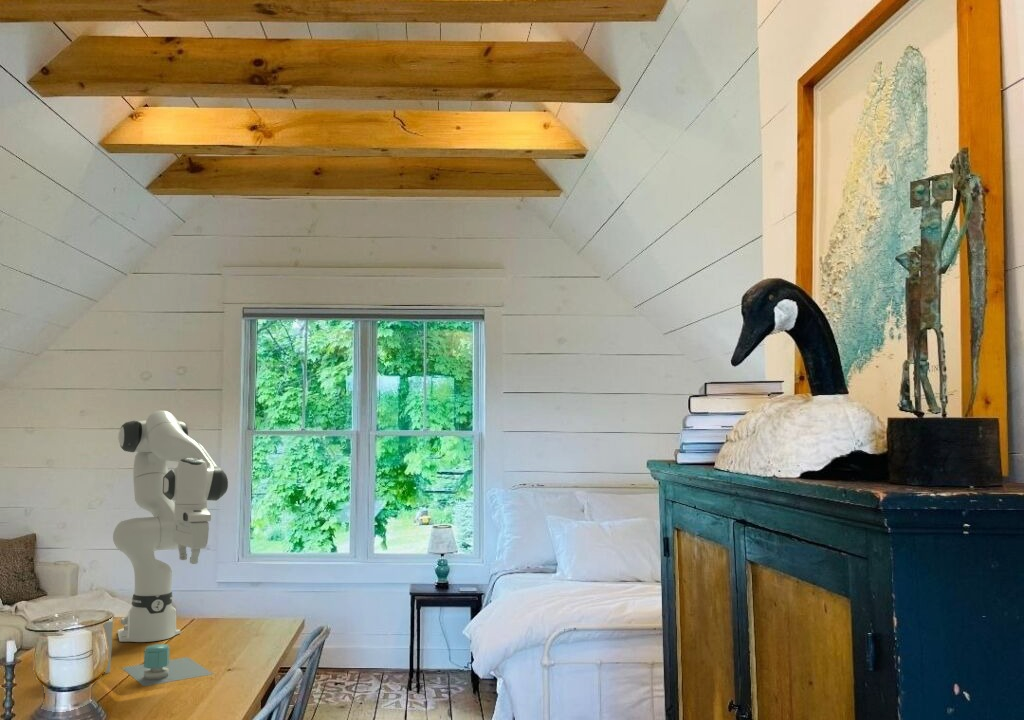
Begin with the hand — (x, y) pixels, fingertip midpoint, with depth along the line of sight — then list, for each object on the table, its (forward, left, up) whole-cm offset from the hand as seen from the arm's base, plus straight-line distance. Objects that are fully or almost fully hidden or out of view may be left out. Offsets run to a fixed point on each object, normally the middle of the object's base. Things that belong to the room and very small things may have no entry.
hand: (188, 561), depth 236 cm
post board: (+8, -7, -29) cm, 31 cm away
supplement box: (-5, -23, -29) cm, 38 cm away
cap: (+12, -11, -25) cm, 30 cm away
